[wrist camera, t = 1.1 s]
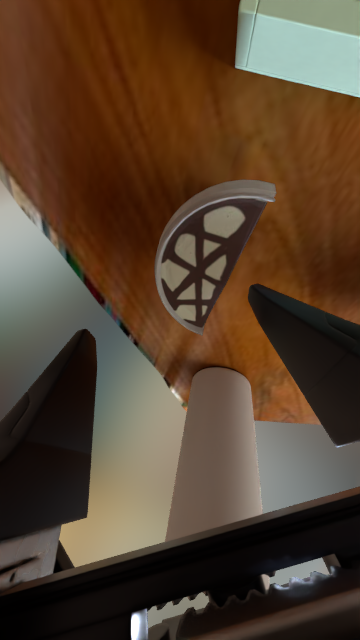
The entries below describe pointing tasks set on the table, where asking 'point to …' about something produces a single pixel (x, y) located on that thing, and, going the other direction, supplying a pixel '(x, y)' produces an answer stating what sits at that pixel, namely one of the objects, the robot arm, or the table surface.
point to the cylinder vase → (216, 457)
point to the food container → (206, 247)
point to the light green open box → (302, 42)
